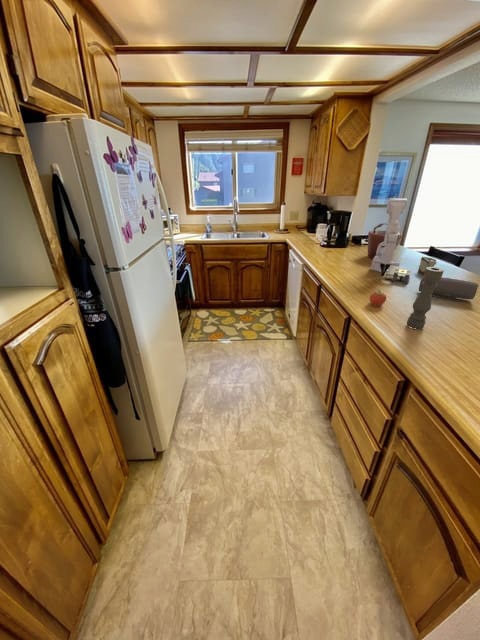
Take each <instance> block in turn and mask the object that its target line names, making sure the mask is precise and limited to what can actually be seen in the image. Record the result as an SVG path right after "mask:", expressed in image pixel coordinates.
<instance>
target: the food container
mask: <svg viewBox="0 0 480 640" xmlns="http://www.w3.org/2000/svg"><path fill="white" fill-rule="evenodd" d="M436 265H437V260H436V259H435V258H432V257H428V256H427V257H426V256H421V259H420V263H419V266H418V271H417V273H418V274H419V275H420V274H421V275H420V276H421V277H423V275H424V273H425V270H426V268H427V267H435V266H436Z"/></svg>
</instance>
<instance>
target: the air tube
mask: <svg viewBox="0 0 480 640" xmlns="http://www.w3.org/2000/svg"><path fill="white" fill-rule="evenodd" d="M393 275H394V274H391V273H385V274H384V279H386V280H392V279H393ZM404 279H405V275H399V274H398V276H397V279H396V281H399V282H404ZM410 280H411V277H410V276H409V279H408V283H409V282H410Z"/></svg>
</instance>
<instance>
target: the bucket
mask: <svg viewBox="0 0 480 640" xmlns="http://www.w3.org/2000/svg"><path fill="white" fill-rule="evenodd" d="M383 225H386V226H387V225H388V222H387V223H385V222H382V223H378V224H377V225H375V226H374V227H373V230H372V231H371V230H370V231H368V235H367V257H368V258H369V259H370V260H373V258H374V257H375V256H376V252H377V248H378V245H379V244H380V243H382V242H384V238H385V234H386V230H379V228H381V227H382V226H383ZM402 236H403V232H400V237H399V241H398V243H397V242H396V248H395V250H396V249H397V248H398V247H397V246H398V245H399V243H400V241H401V239H402ZM381 247H385V246H381Z"/></svg>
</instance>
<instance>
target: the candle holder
mask: <svg viewBox="0 0 480 640" xmlns="http://www.w3.org/2000/svg"><path fill="white" fill-rule="evenodd" d="M444 271H445V269H443V268H441V267H437V266H434V267H427V268H426V270H425V273H424V275H423V276H424V282H422V290H421V292H420V293H419V294H418V296H417V297H416V299H415V300H414V302H413V304H412V310H413V312H411V313H410V315H409V316H408V318H407V321H406V323H407V325H408V326H410V327H412V328H416V329H422V328H423V329H424V327H425V324H426V320H427V316H426V314H427V313H428V312H430V310H431V307H432V297H433V296H432V293H433V290H434V289H435V288H436V287H437V284H436V283H437V282H438V281H439V280H440V279H441V277H442V278H443V274H444ZM423 276H422V277H423ZM407 325H406V326H407ZM423 329H422V330H423Z"/></svg>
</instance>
